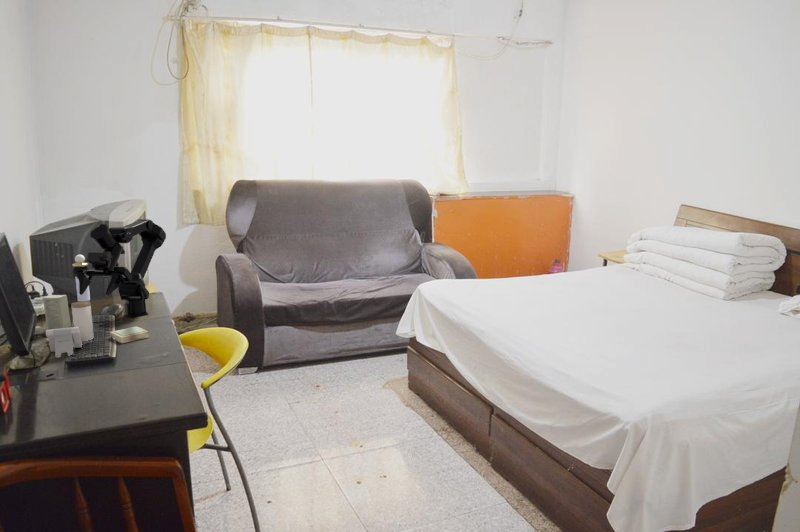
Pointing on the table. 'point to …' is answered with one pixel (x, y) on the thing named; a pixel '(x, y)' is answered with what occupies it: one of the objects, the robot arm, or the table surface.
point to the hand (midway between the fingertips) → (93, 294)
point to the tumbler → (83, 319)
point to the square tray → (130, 334)
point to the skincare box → (56, 311)
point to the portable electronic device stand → (63, 340)
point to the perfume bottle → (86, 294)
